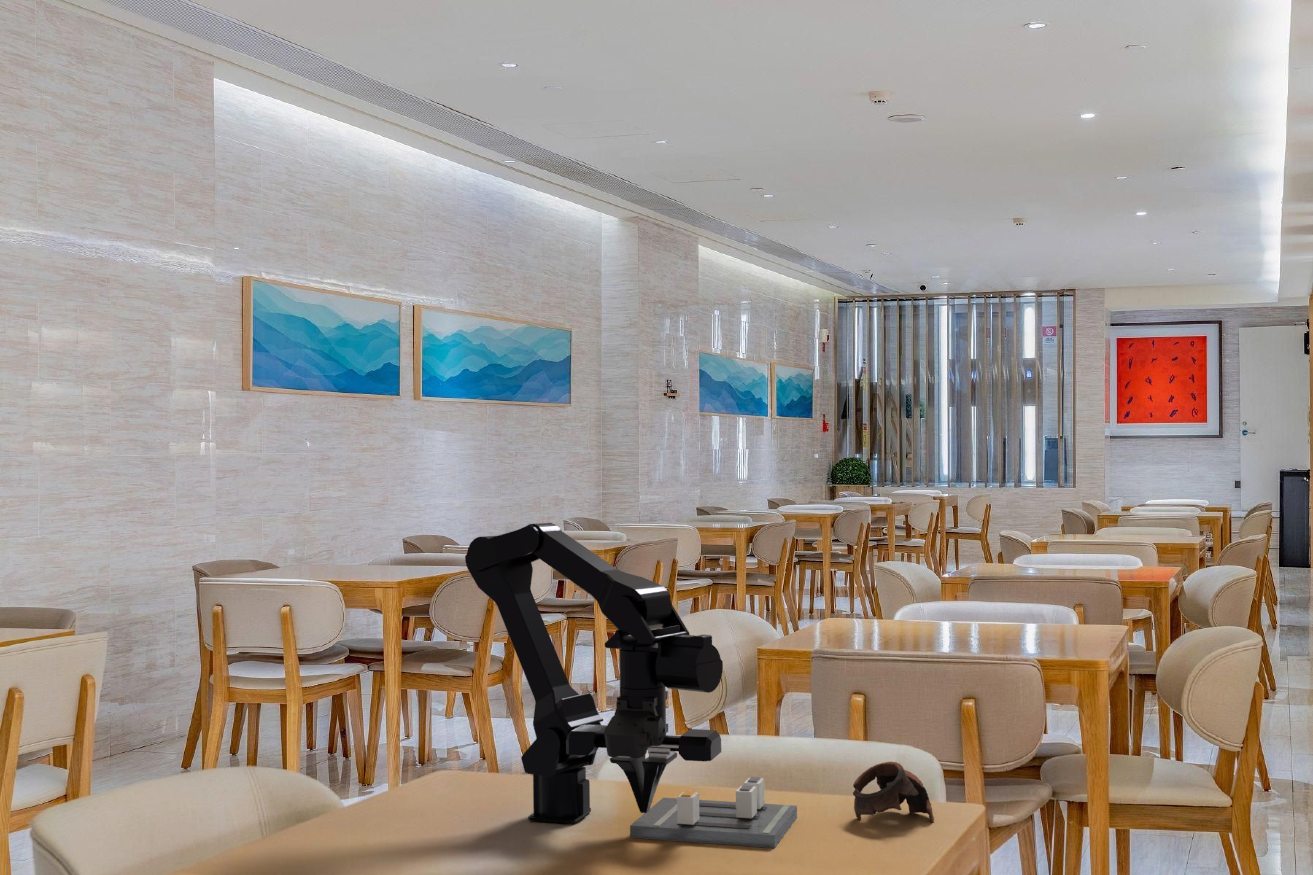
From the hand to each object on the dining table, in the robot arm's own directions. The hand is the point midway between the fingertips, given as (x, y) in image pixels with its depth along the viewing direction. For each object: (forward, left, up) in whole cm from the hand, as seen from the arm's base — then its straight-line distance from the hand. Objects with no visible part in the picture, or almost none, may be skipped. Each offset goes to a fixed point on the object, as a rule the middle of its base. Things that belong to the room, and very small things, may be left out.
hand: (644, 812), depth 156 cm
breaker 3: (+12, +5, -1) cm, 13 cm away
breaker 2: (+12, +9, -1) cm, 15 cm away
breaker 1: (+6, 0, -1) cm, 6 cm away
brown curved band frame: (+29, +14, -3) cm, 32 cm away
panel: (+8, +4, -2) cm, 9 cm away
